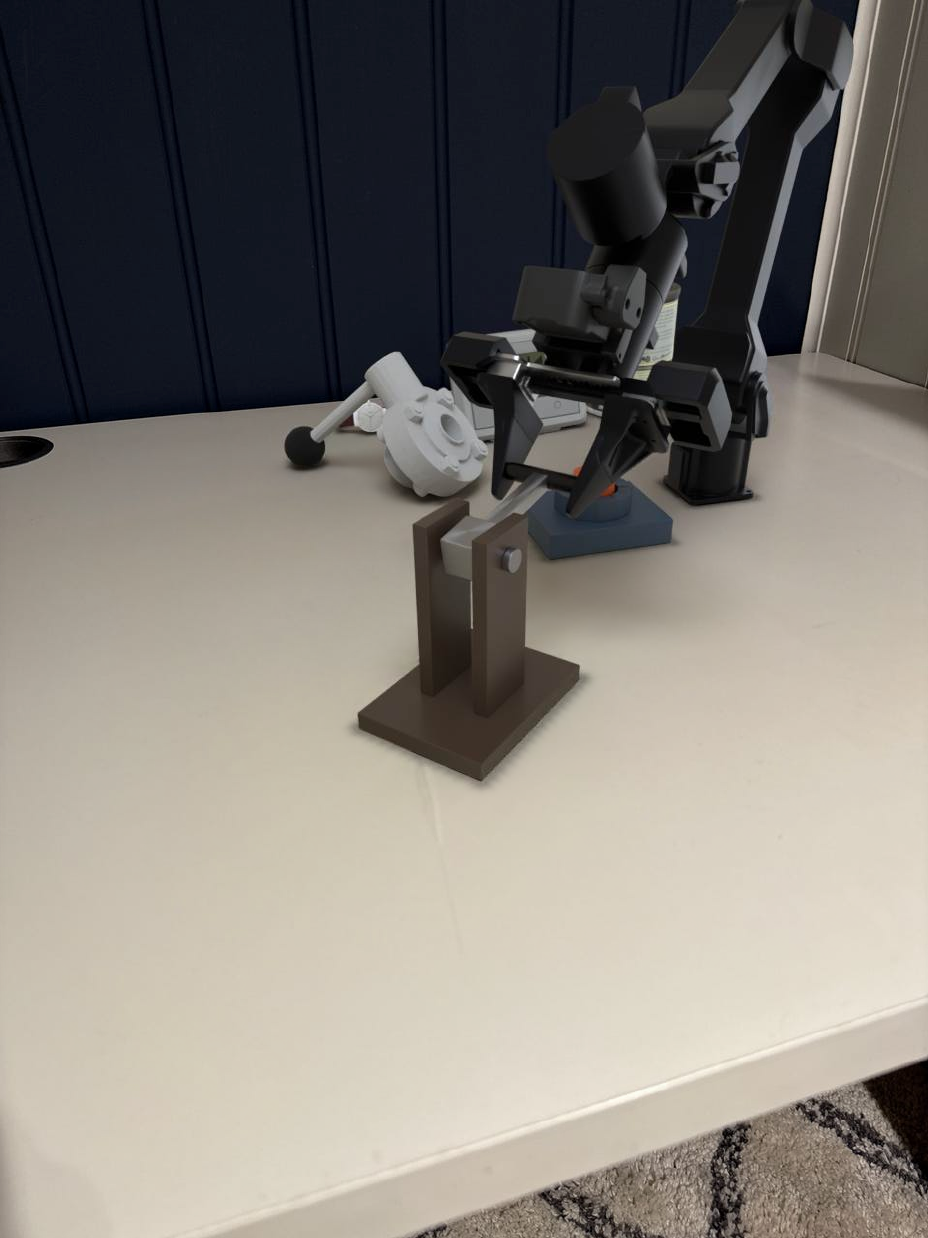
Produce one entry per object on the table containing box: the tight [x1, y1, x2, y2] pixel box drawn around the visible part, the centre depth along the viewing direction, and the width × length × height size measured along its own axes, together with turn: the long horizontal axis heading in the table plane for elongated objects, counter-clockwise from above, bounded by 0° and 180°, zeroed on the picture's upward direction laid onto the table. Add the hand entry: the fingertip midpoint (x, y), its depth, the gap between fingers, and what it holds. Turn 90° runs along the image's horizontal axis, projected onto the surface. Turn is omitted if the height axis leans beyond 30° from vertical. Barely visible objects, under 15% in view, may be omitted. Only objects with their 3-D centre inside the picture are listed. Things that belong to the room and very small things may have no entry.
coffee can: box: [586, 281, 682, 418], centre depth 105 cm, size 10×10×14 cm
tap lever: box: [440, 462, 577, 582], centre depth 54 cm, size 10×5×2 cm, turn 146°
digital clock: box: [445, 328, 588, 443], centre depth 100 cm, size 16×9×11 cm, turn 103°
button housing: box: [523, 477, 674, 560], centre depth 78 cm, size 11×9×4 cm
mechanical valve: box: [283, 351, 489, 498], centre depth 89 cm, size 10×18×15 cm
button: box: [572, 465, 615, 497], centre depth 77 cm, size 4×4×2 cm
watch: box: [337, 399, 386, 433], centre depth 103 cm, size 8×5×4 cm, turn 104°
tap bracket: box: [357, 497, 581, 781], centre depth 54 cm, size 12×9×13 cm
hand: (531, 506), depth 57 cm, fingers closed on tap lever, 5 cm apart
